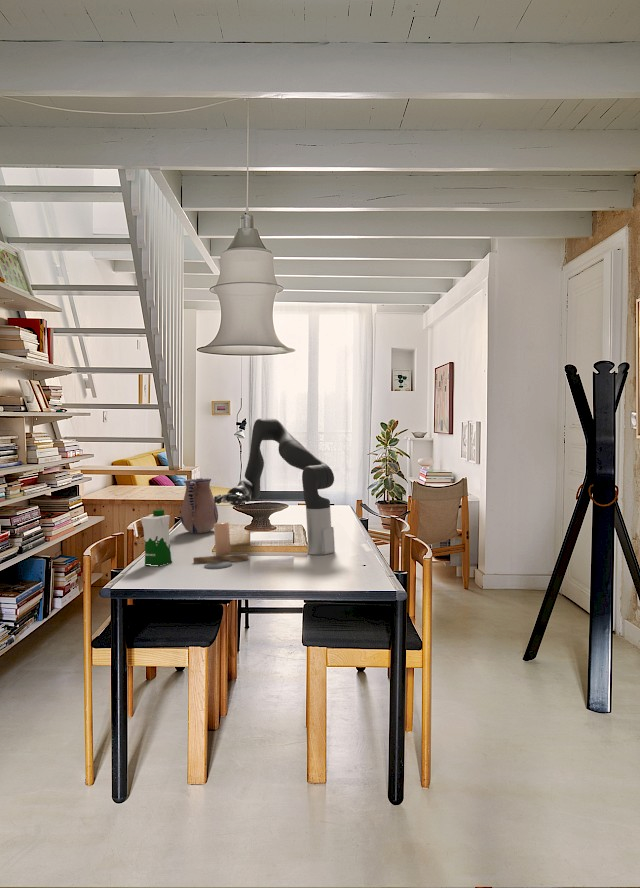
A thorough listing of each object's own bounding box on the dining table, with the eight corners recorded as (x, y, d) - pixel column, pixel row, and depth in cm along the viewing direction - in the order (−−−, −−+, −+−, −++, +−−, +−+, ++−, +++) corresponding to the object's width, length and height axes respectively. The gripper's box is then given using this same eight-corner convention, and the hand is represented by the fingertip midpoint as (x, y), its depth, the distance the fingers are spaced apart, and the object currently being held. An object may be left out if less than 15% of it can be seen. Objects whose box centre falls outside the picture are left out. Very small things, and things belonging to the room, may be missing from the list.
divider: (248, 559, 268) (247, 554, 268) (247, 560, 267) (247, 554, 267) (194, 562, 268) (193, 557, 268) (193, 563, 267) (193, 558, 266)
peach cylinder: (233, 556, 276) (231, 522, 275) (223, 559, 271) (221, 524, 271) (223, 555, 279) (221, 521, 279) (213, 557, 275) (210, 524, 274)
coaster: (238, 564, 260) (238, 563, 260) (217, 570, 253) (217, 568, 253) (219, 561, 267) (218, 560, 267) (198, 567, 259) (198, 566, 259)
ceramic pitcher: (220, 527, 348) (217, 476, 347) (217, 535, 327) (213, 480, 326) (183, 530, 347) (180, 478, 346) (178, 537, 326) (174, 482, 325)
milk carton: (175, 562, 271) (171, 509, 270) (159, 567, 263) (155, 513, 262) (157, 561, 275) (153, 509, 274) (140, 566, 267) (137, 512, 266)
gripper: (221, 487, 302) (210, 492, 286) (254, 485, 300) (245, 490, 284) (222, 504, 302) (211, 510, 286) (255, 503, 300) (246, 509, 284)
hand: (228, 500), depth 285 cm, fingers open, 8 cm apart
